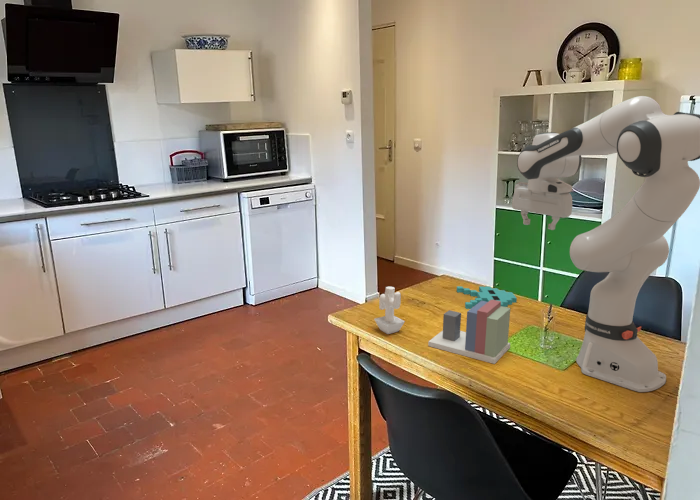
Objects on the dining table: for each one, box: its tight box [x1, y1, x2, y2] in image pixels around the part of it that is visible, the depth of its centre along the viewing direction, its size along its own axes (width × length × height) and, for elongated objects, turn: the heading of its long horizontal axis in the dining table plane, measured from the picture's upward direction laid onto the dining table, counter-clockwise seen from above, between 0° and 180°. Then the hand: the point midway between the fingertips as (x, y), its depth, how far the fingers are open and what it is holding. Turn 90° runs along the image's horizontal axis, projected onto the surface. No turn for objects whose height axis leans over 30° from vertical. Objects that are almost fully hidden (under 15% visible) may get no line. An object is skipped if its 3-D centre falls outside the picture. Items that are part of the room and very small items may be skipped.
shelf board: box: [427, 300, 511, 365], centre depth 160 cm, size 21×13×14 cm, turn 55°
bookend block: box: [442, 309, 462, 341], centre depth 164 cm, size 4×4×8 cm
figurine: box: [373, 286, 406, 335], centre depth 172 cm, size 7×9×15 cm
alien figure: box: [456, 285, 518, 310], centre depth 202 cm, size 20×2×20 cm
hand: (538, 227), depth 172 cm, fingers open, 8 cm apart
